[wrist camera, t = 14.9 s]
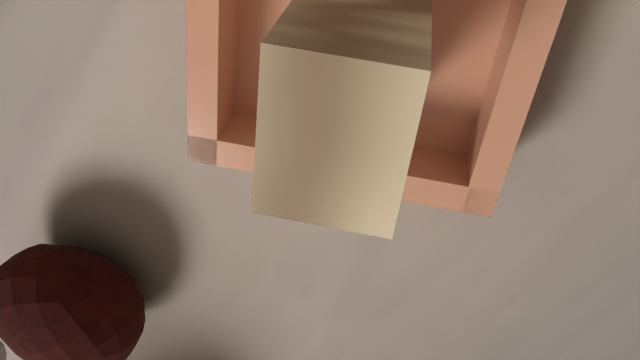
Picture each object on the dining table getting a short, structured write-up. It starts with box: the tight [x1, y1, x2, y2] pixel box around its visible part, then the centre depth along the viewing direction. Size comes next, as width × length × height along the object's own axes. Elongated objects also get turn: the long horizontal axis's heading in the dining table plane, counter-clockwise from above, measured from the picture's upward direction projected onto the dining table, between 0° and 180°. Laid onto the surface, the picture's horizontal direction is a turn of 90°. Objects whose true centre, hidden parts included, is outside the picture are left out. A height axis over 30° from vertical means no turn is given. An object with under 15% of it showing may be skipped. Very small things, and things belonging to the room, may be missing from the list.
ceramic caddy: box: [185, 0, 567, 217], centre depth 22 cm, size 12×11×4 cm
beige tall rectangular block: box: [251, 0, 432, 239], centre depth 18 cm, size 4×5×9 cm
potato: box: [0, 244, 145, 360], centre depth 31 cm, size 7×8×6 cm
